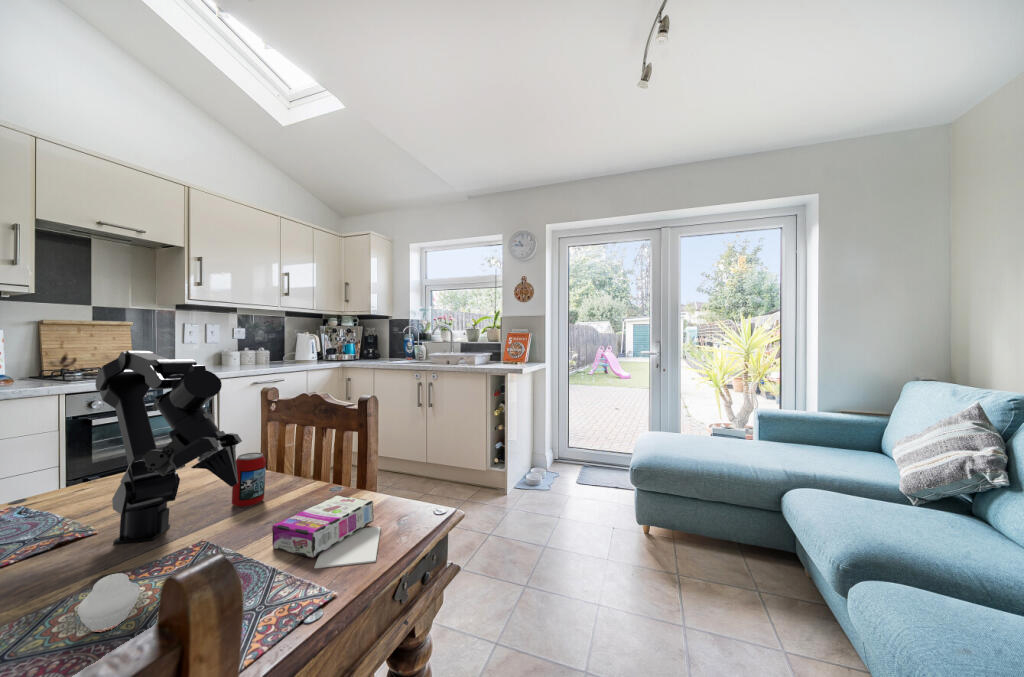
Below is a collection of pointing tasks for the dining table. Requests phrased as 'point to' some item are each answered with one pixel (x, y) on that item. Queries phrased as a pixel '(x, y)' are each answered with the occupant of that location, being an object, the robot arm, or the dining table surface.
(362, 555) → the mat
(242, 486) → the beverage can
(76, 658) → the dining table surface
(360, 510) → the candy bar box
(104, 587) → the white lumpy blob
